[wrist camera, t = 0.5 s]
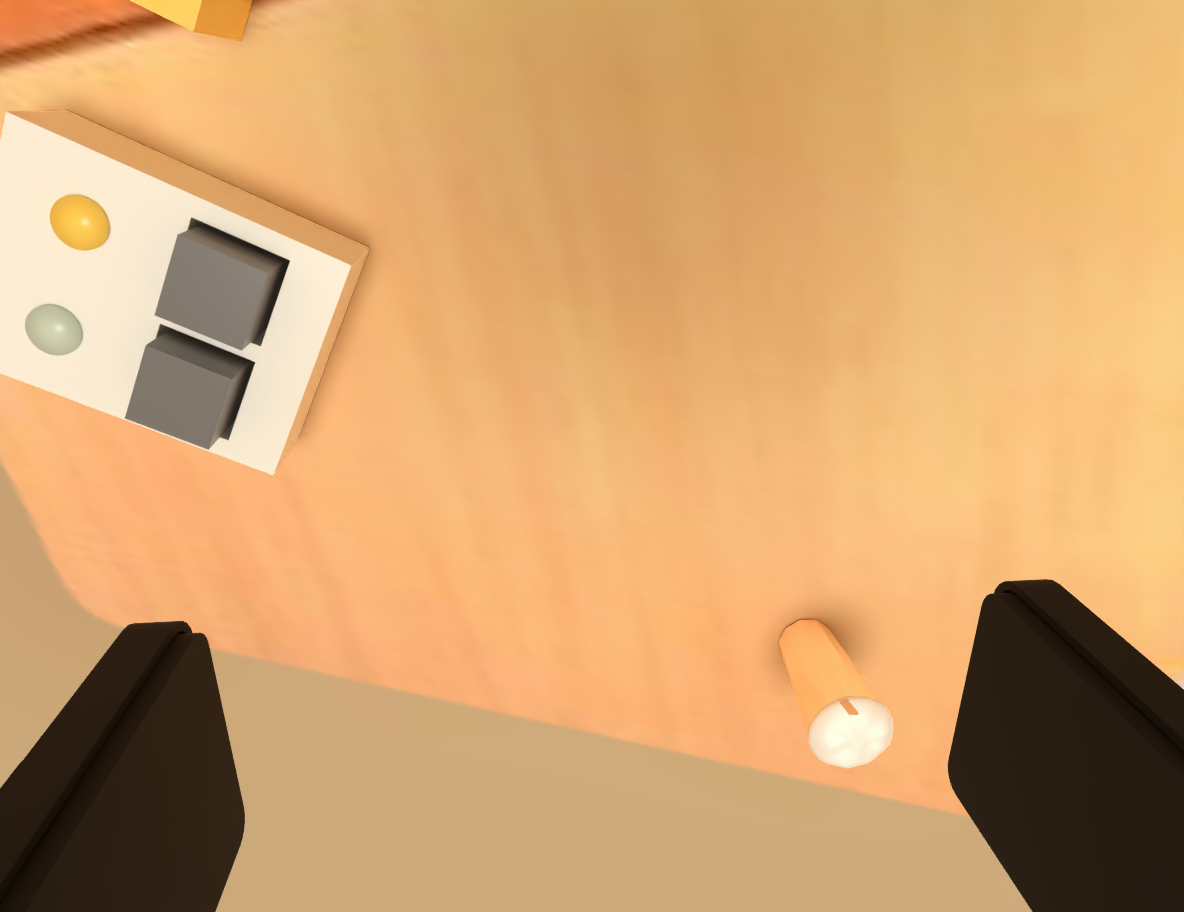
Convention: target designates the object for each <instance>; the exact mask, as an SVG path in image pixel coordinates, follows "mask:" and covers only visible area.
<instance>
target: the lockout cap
mask: <svg viewBox="0 0 1184 912" xmlns="http://www.w3.org/2000/svg"><path fill="white" fill-rule="evenodd" d="M130 1H132V2H134V3H136V4H138V5H140V6H142V7H144V8H146V9H148V10H150V11H152V12H154V13H156V14H159V15H161V16H163V17H165V18H167V19H169V20H171V21H173V22H175V23H177V24H179V25H181V26H183V27H185V28H187V29H189V30H191V31H193V32H198V33H203V34H208V35H213V36H218V37H224V38H229V39H234V40H239V41H241V39H242V36H243V32H244V29H245V25H246V22H247V18H248V15H249V12H250V8H251V5H252V1H253V0H130Z"/></svg>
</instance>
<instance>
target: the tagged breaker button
mask: <svg viewBox="0 0 1184 912" xmlns="http://www.w3.org/2000/svg"><path fill="white" fill-rule="evenodd" d="M289 263H290V260H288V259H285V258H283V257H281V256H279V255H276V254H274V253H272V252H270V251H267V250H265V249H263V248H260V247H258V246H256V245H254V244H251V243H249V242H247V241H244V240H242V239H240V238H238V237H235V236H233V235H231V234H229V233H226V232H224V231H222V230H219V229H217V228H215V227H213V226H210V225H208V224H206V223H205V224H203V225H200V226H198V227H195V228H192V229H190V230H187V231H185V232H182V233H180V234H178V235H177V238H176V242H175V245H174V249H173V252H172V256H171V259H170V263H169V266H168V270H167V273H166V276H165V280H164V283H163V287H162V290H161V294H160V297H159V301H158V304H157V308H156V311H155V316H157V317H160V318H162V319H165V320H167V321H170V322H172V323H175V324H177V325H180V326H182V327H184V328H187V329H189V330H192V331H194V332H197V333H199V334H202V335H204V336H207V337H209V338H212V339H214V340H216V341H219V342H221V343H224V344H226V345H229V346H231V347H234V348H236V349H239V350H241V351H242V350H243V349H244V348H245V347H246V346H248V345H249V344H250V343H251V342H252V341H253V340H254V339H255V338H257V337H258V336H259V335H260V334H261V333H262V332H263V331H264V330H266V329H267V327H268V324H269V321H270V318H271V315H272V312H273V309H274V306H275V304H276V301H277V298H278V295H279V292H280V289H281V286H282V283H283V280H284V277H285V274H286V271H287V268H288V266H289Z"/></svg>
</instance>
